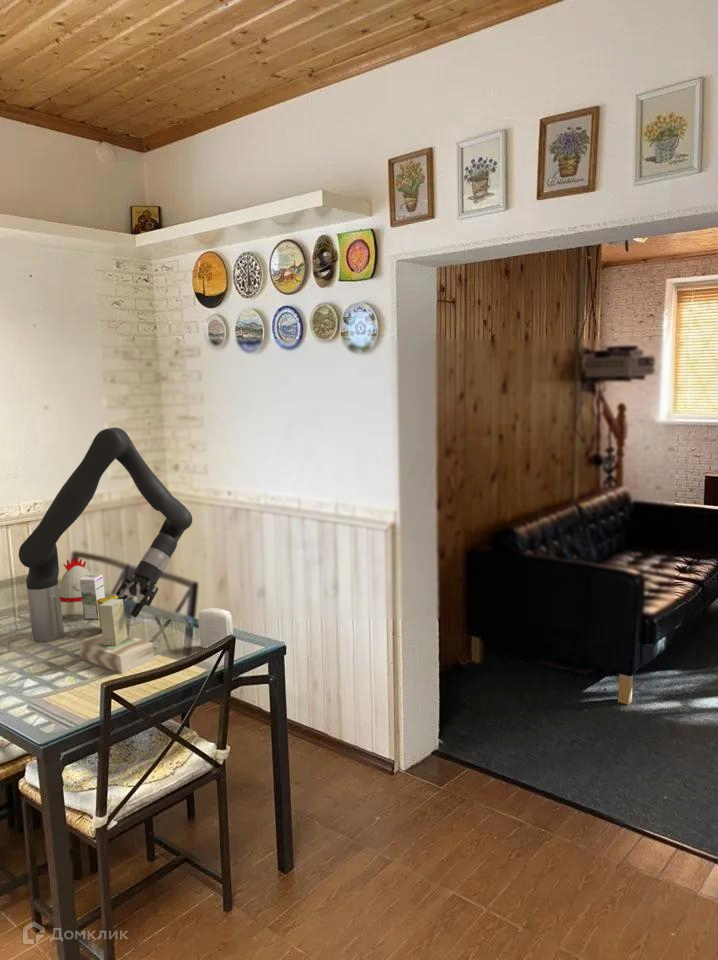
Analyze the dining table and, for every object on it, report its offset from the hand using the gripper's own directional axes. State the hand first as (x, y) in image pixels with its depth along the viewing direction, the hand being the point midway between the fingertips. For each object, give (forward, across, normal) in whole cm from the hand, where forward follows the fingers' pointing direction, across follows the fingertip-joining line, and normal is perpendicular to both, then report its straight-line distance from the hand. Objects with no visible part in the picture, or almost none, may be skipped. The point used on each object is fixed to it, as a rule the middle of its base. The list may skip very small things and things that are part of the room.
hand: (123, 613), depth 213 cm
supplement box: (+3, -21, +16) cm, 27 cm away
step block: (+12, 0, +6) cm, 13 cm away
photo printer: (-3, +20, +22) cm, 29 cm away
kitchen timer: (-8, -65, +26) cm, 70 cm away
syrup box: (-1, -38, +19) cm, 43 cm away
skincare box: (+8, 0, +3) cm, 9 cm away
